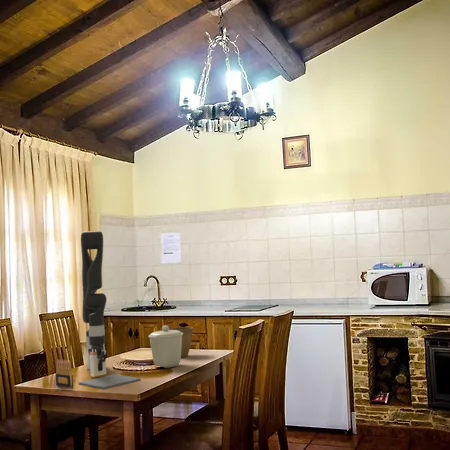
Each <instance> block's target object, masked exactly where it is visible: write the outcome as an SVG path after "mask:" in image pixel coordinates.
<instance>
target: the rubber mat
mask: <svg viewBox="0 0 450 450" xmlns="http://www.w3.org/2000/svg"><path fill="white" fill-rule="evenodd" d="M139 381H141V378H140V377H133V376H128V375H122V374H116V373H114V374H111V375H106V376H105V375H104V376H102V377H97V378H93V379H92V378H91V379H88V380H83V381H79V382H78V385H82V386H87V387H91V388H95V389H101V390H106V389H110V388H114V387H118V386H122V385H126V384H131V383H134V382H139ZM105 388H106V389H105Z"/></svg>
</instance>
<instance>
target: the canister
mask: <svg viewBox="0 0 450 450" xmlns="http://www.w3.org/2000/svg"><path fill="white" fill-rule="evenodd" d="M161 329H162V330H157V331H153V332H152V333H150V334H148V338H149V342H150V349H151V355H152V360H153V364H154V366H155V367H156V366H160V367H164V368H163V369H169V368H175V367H178V366H179V365H180V363H181V358H182V357H181V345H182V335H183V333H181V332H180V331H177V330H169V329H170V327H169V325H166V324H165V325H162V327H161Z"/></svg>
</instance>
